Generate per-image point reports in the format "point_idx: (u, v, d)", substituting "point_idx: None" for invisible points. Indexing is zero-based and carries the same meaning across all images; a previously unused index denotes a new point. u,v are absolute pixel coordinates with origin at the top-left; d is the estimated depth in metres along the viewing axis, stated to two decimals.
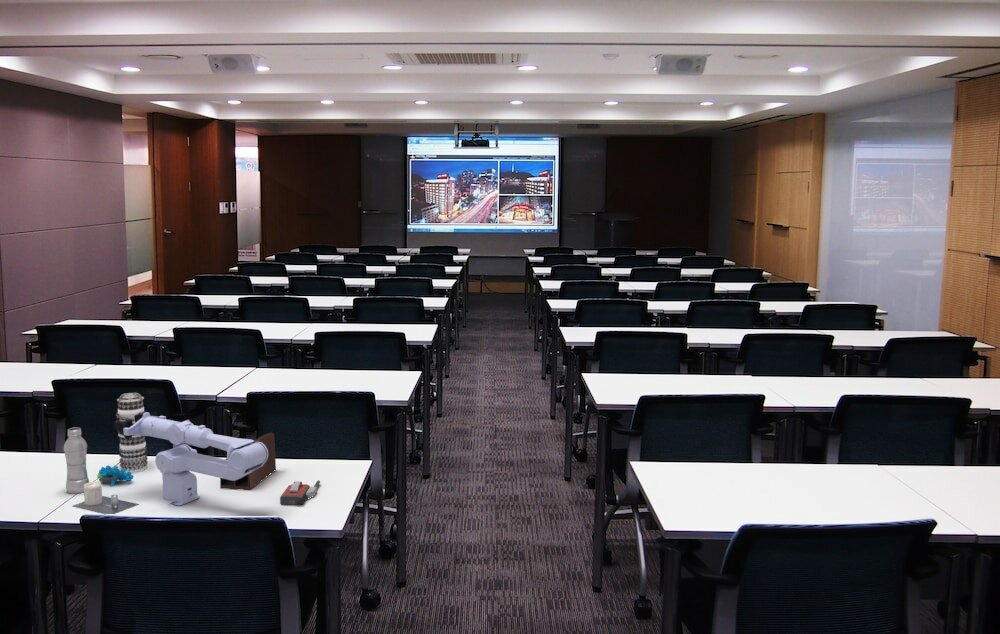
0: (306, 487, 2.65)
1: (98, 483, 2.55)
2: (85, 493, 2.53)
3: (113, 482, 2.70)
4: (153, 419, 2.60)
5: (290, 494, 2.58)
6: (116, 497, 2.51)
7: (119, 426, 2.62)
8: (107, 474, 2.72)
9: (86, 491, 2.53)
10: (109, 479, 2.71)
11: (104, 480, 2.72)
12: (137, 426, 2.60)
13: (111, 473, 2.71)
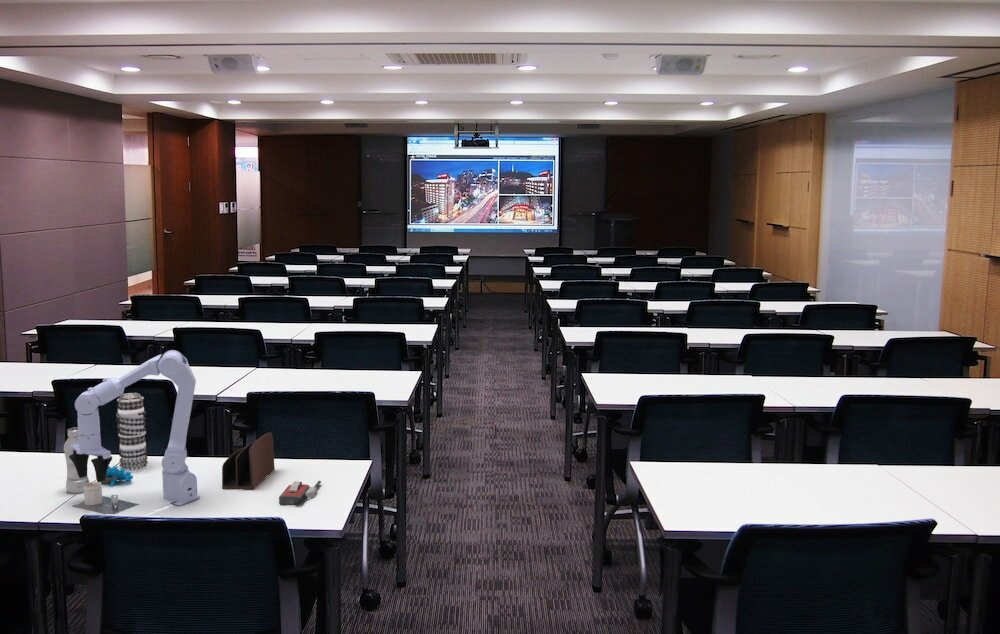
0: (306, 487, 2.65)
1: (98, 483, 2.55)
2: (85, 493, 2.53)
3: (112, 482, 2.70)
4: (82, 439, 2.50)
5: (289, 494, 2.58)
6: (116, 497, 2.51)
7: (101, 473, 2.52)
8: (107, 474, 2.72)
9: (86, 491, 2.53)
10: (109, 479, 2.71)
11: None
12: (96, 452, 2.51)
13: (111, 473, 2.71)
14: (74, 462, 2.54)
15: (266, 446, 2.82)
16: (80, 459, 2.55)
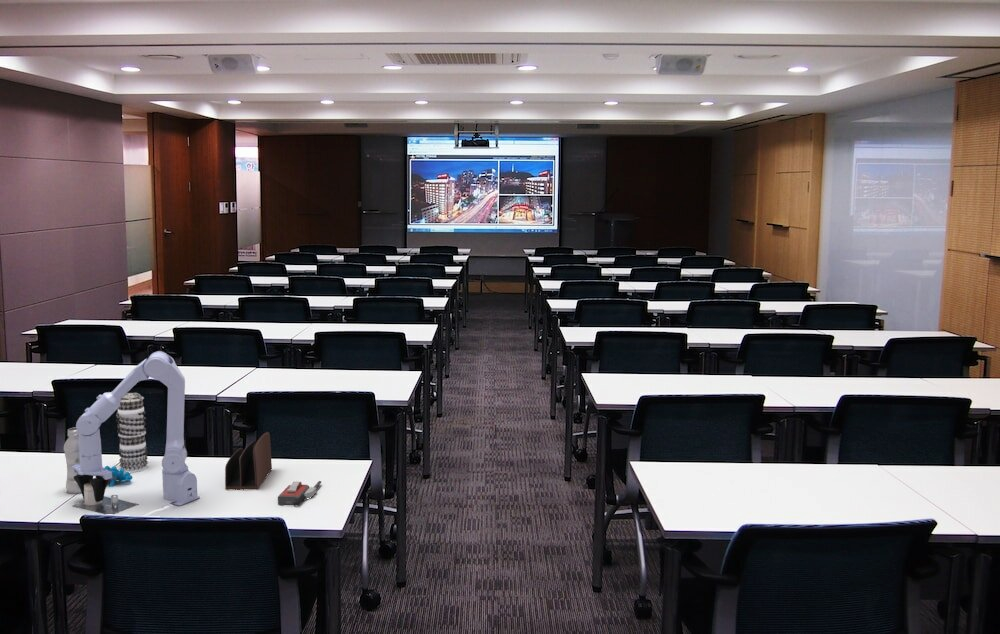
0: (305, 487, 2.65)
1: None
2: (85, 493, 2.53)
3: (112, 482, 2.70)
4: (84, 460, 2.51)
5: (288, 494, 2.58)
6: (116, 497, 2.51)
7: (100, 493, 2.54)
8: None
9: (86, 491, 2.53)
10: None
11: None
12: None
13: None
14: (79, 483, 2.54)
15: (265, 446, 2.82)
16: (84, 480, 2.55)
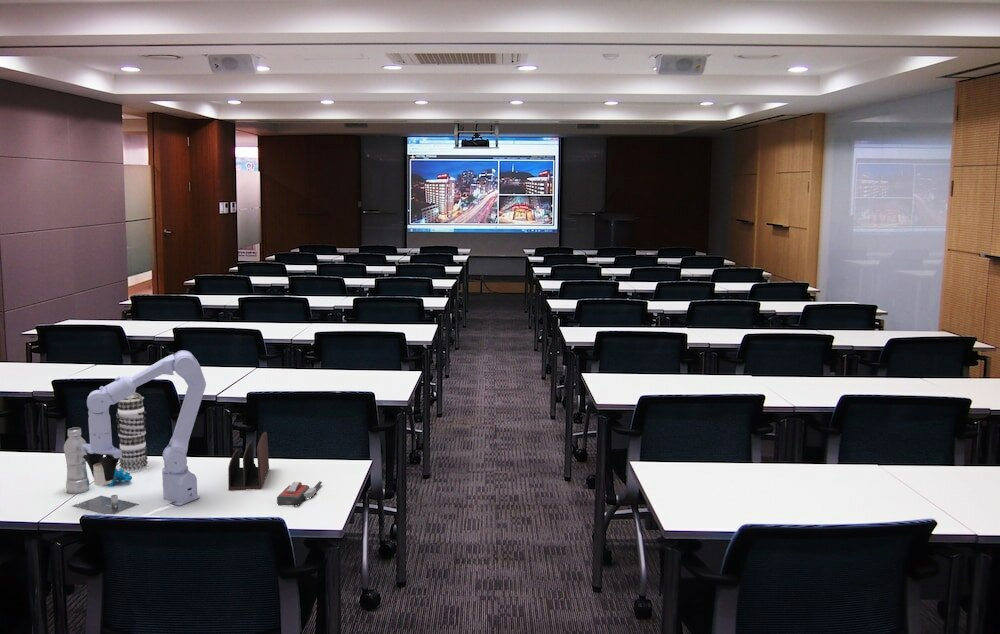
0: (305, 488, 2.65)
1: None
2: (94, 473, 2.50)
3: None
4: (93, 438, 2.48)
5: (287, 494, 2.58)
6: (116, 497, 2.51)
7: (110, 472, 2.51)
8: None
9: (95, 471, 2.50)
10: None
11: None
12: (107, 451, 2.49)
13: None
14: (89, 462, 2.51)
15: (264, 445, 2.83)
16: (94, 459, 2.52)
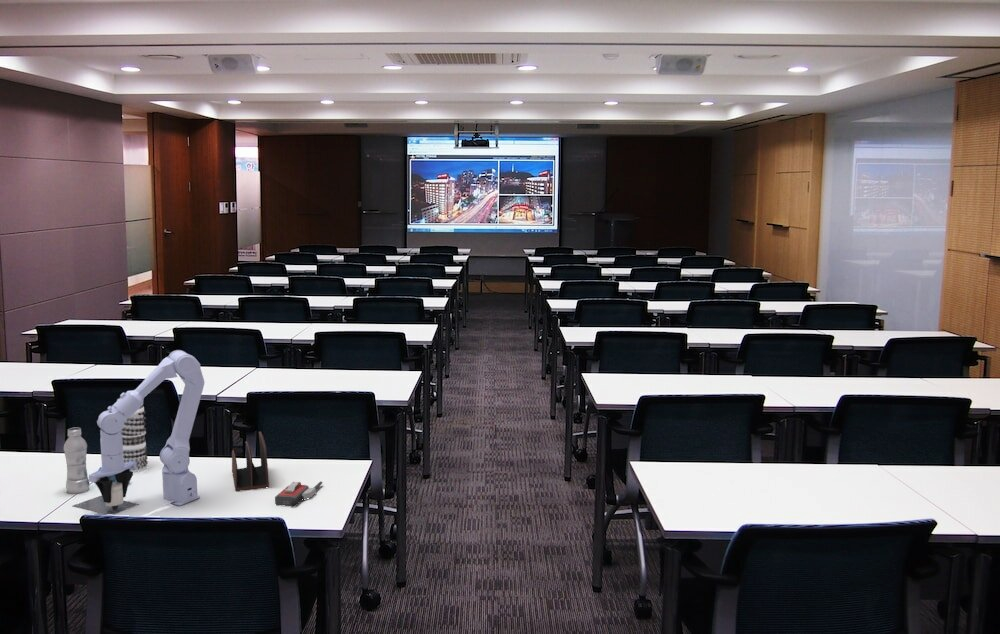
0: (304, 488, 2.64)
1: (113, 486, 2.49)
2: None
3: None
4: None
5: (285, 494, 2.58)
6: None
7: (105, 494, 2.48)
8: None
9: None
10: None
11: None
12: None
13: None
14: None
15: None
16: (119, 478, 2.53)
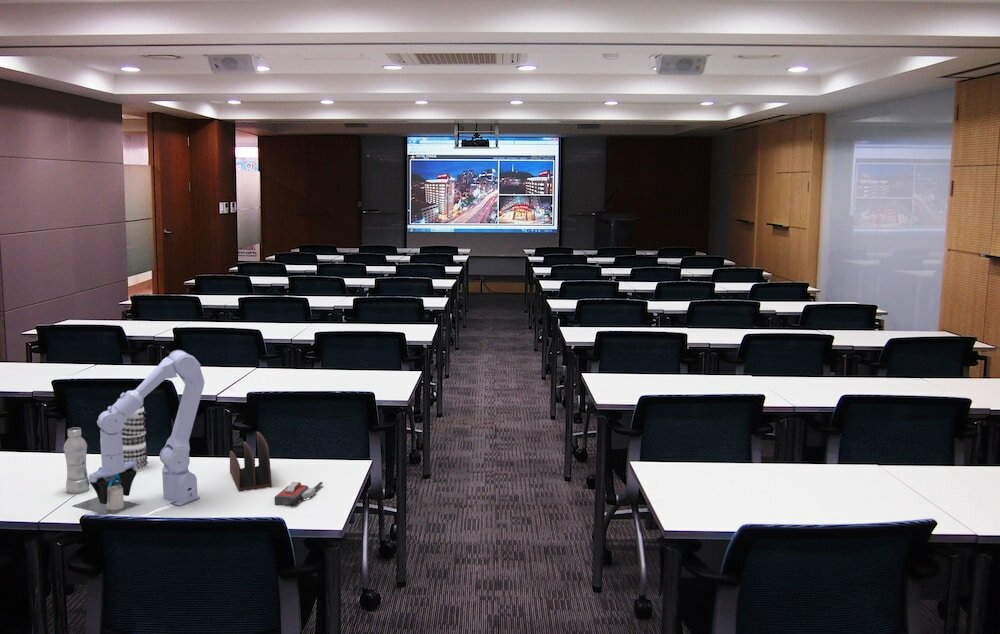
0: (304, 488, 2.64)
1: (114, 490, 2.49)
2: None
3: (110, 483, 2.69)
4: None
5: (284, 494, 2.58)
6: None
7: (101, 495, 2.47)
8: None
9: None
10: (107, 480, 2.71)
11: None
12: None
13: None
14: None
15: (261, 445, 2.83)
16: (123, 476, 2.54)
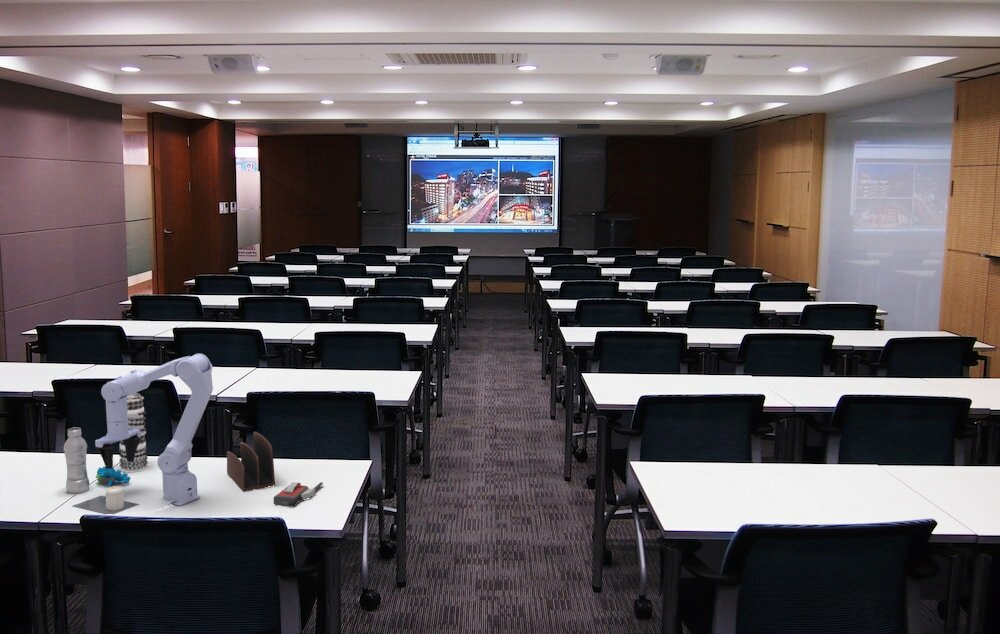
0: (303, 488, 2.64)
1: (114, 490, 2.49)
2: None
3: (109, 483, 2.69)
4: None
5: (284, 495, 2.58)
6: None
7: (107, 460, 2.57)
8: (105, 475, 2.71)
9: None
10: (106, 480, 2.71)
11: (102, 481, 2.71)
12: None
13: (108, 474, 2.70)
14: None
15: None
16: (127, 443, 2.64)
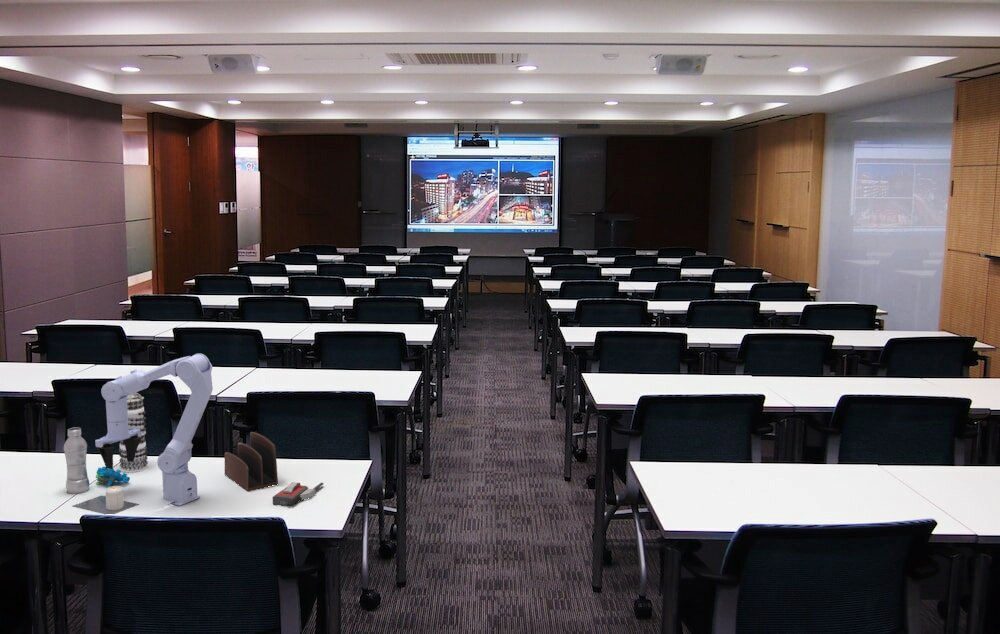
0: (303, 488, 2.64)
1: (114, 490, 2.49)
2: None
3: (109, 483, 2.69)
4: None
5: (282, 495, 2.58)
6: None
7: (107, 460, 2.58)
8: (104, 475, 2.71)
9: None
10: (106, 480, 2.70)
11: (102, 481, 2.71)
12: None
13: (108, 474, 2.70)
14: None
15: None
16: (128, 443, 2.64)
